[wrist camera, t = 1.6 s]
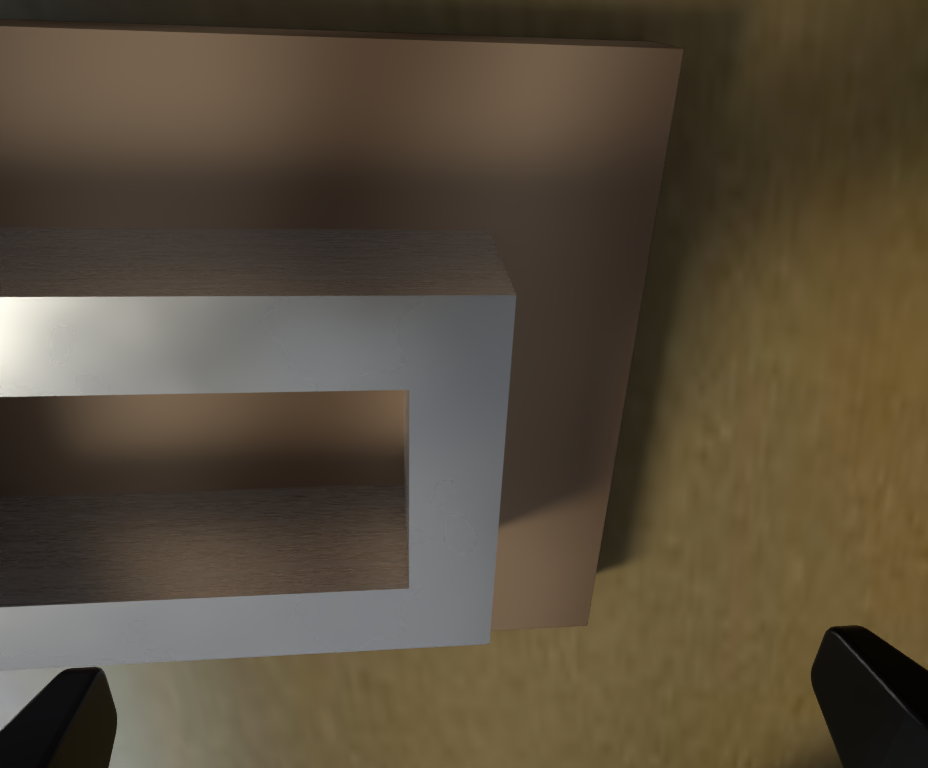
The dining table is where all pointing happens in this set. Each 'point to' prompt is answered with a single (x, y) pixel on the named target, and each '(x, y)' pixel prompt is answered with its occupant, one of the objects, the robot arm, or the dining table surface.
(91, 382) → the grey rectangular frame
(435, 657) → the dining table surface
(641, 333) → the dining table surface
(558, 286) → the keeper board
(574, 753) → the dining table surface
